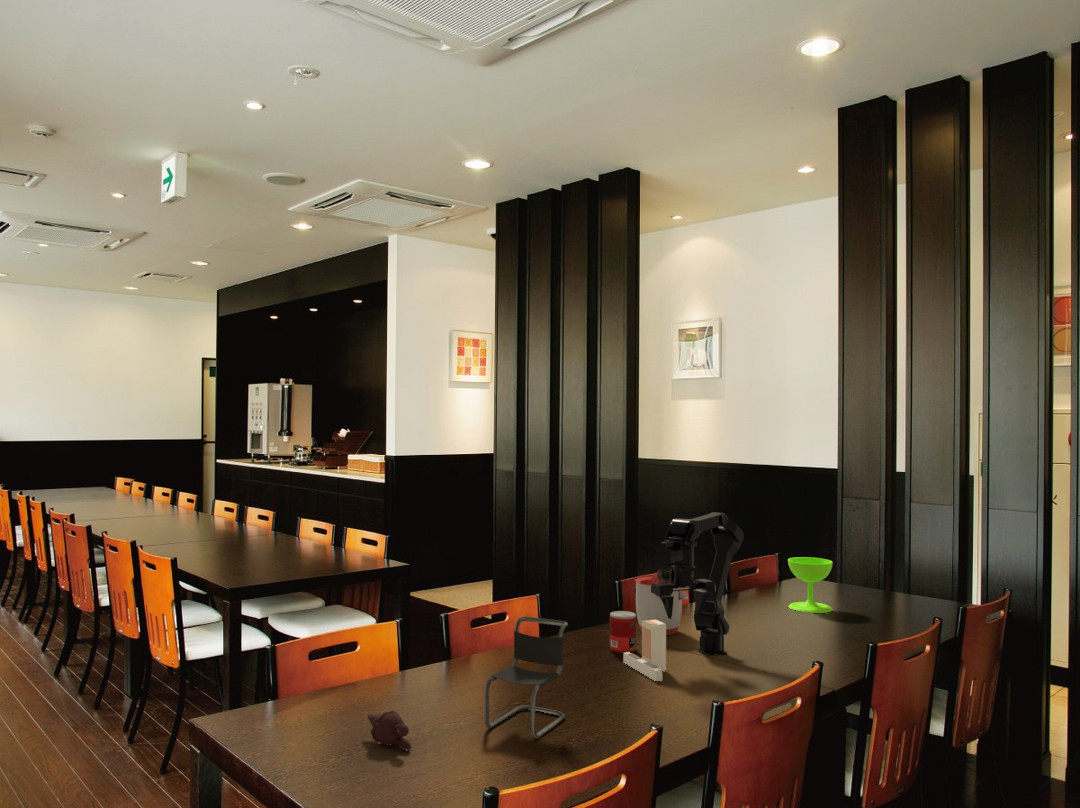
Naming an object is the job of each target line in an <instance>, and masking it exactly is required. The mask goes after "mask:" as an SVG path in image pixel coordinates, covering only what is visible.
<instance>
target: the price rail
mask: <svg viewBox="0 0 1080 808" xmlns="http://www.w3.org/2000/svg"><path fill="white" fill-rule="evenodd" d="M622 657H623V658H622V659H623V664H624V663H625V664H624V665H626V664H627V665H628V667H629V666H630V667H629V668H631V667H632V668H633V670H634V669H635V670H634V671H636V670H637V671H636V672H638V671H639V672H640V674H641V673H642V674H641V675H643V674H644V675H643V676H645V677H646V676H647V678H648V677H649V678H648V679H650V680H651V679H652V681H653V680H654V682H655V681H660V682H663V672H662V669H660V668H658V667H657V666H655V665H653V664H651V663H649V662H647V661H645V660H643V659H642V657H640V656H639V655H636V654H635V653H634V652H633V653H630V652H626V653H623V656H622ZM627 665H626V666H627ZM632 668H631V669H632ZM639 672H638V673H639Z"/></svg>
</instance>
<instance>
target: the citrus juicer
mask: <svg viewBox="0 0 1080 808" xmlns="http://www.w3.org/2000/svg"><path fill="white" fill-rule="evenodd" d="M657 575H658V571H657V572H656V573H654V574H653V575H652V576H642V577H638V578H636V579H635V612H636V619H637V621H638V626H639V629H640V631H641V632H642V621H645V620H658V621H660V622H663V623H665V624H666V635H670V636H671V635H675V634H677V631H678V630H679V627H680V621H681V619H682V611H683V599H684V600H688V599H689V596H688V594H687V592H686V591H685V590H684V591H673V593H672V594H671V596H674V599H673V610H672V617H671V619H669V618H668V616H667V613H666V610H665V608H664V605H663V602H662V600H661V599H660V597H658V596H656V595H655V594H654V593H651V586H652V584H653V583H658V582H663V580H662V581H659V580H658V576H657ZM667 584H670V585H673V583H672V584H671V583H667ZM678 588H681V587H678Z"/></svg>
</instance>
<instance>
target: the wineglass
mask: <svg viewBox="0 0 1080 808" xmlns="http://www.w3.org/2000/svg"><path fill="white" fill-rule="evenodd" d="M787 563H788V566H789V570H790V572H791V573H792V574H793V575H794V576H795V578H797V579H798V580H800V581H803V582H805V583H807V599H806V601H795V602H791V603H790V604H789V605H788V606H787V607H789V608H790V609H793V610H796V611H801V612H810V613H825V612H830V611H832V610H833V611H834V609H833V608H832V606H830V605H827V604H825V603H820V602H815V600H814V585H813V584H814V583H817V582H818V583H819V582H821V581H823V580H824V579H826V578H827V577H828V576H829V574H831V571H832V568H833V561H832V560H830V559H825V558H821V557H810V556H809V557H806V556H802V557H798V556H797V557H789V558H788V559H787ZM789 608H788V609H789ZM790 609H789V610H790ZM793 610H792V611H793ZM796 611H795V612H796ZM801 612H800V613H801Z"/></svg>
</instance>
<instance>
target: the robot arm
mask: <svg viewBox="0 0 1080 808" xmlns="http://www.w3.org/2000/svg"><path fill="white" fill-rule="evenodd" d="M709 530H710V533H711V534H712V536H713V537H714V538H713V544H714V547H715V556H714V561H713V564H712V568H711V573H710V576H709V579H706V578H699V579H694V572H696V571H697V567H695V566H694V547H697V546H698V543H697V542H696V541H695V539H696V538H698V537H699V536H700V534H701V533H704V532H706V531H709ZM744 537H745V535H744V532H743V530H742V529H741V528H740V526H739V525H738V523H736V522H735V521H734V520H732V519H730V518H729V516H728V514H726V513H724V512H715V511H714V512H713V511H712V512H710V513H708V514H704V515H701V516H698V517H693V518H690V519H689V518H673V519H672V520H671V523H670V524H669V526H668V528H667V530H666V533H665V536H664V539H663V541H662V542H660V546H659V547H657V548H656V549H655V553H654V561H655V562H656V564H657V566H660V567H661V568H659V569H657V572H658V575H657V576H658V580H659V581H662V580H663V582H658V583H653V584H652V586H651V593H654V594H655V595H656V596H658V597H660V599H661V600H662V602H663V605H664V608H665V610H666V613H667V616H668V618H669V619H671V617H672V610H673V599H674V596H671V594H672V593H673V591H684V592H685V591H692V592H693V595H694V610H693V620H694V621H693V622H694V626H695V631H698V632H699V631H700V636H699V648H698V647H697V651H698V650H699V652H700V651H702V652H701V653H703V652H704V653H703V654H705V653H706V654H705V655H707V654H708V655H707V656H710V655H711V656H715V655H714V654H719V655H723V654H724V653H727V654H728V651H726V650H725V636H726V635H727V634H728V633H729V632H730V624H729V623H728V621H727V619H726V618H725V613H726V611H725V609H724V605H723V601H722V600H723V596H724V592H725V587H726V583H727V580H728V575H729V573H730V572H729V571H730V567H731V562H732V559H733V556H734V555H735V554H736V553H737V552H738V551H739V550H740V549H741V546H742V542H743V541H744V539H745V538H744ZM666 567H667V568H668V567H669V568H670V570H667V569H666ZM667 583H671V584H672V583H673V585H670V584H667ZM678 587H681V588H678ZM724 655H725V654H724Z"/></svg>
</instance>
